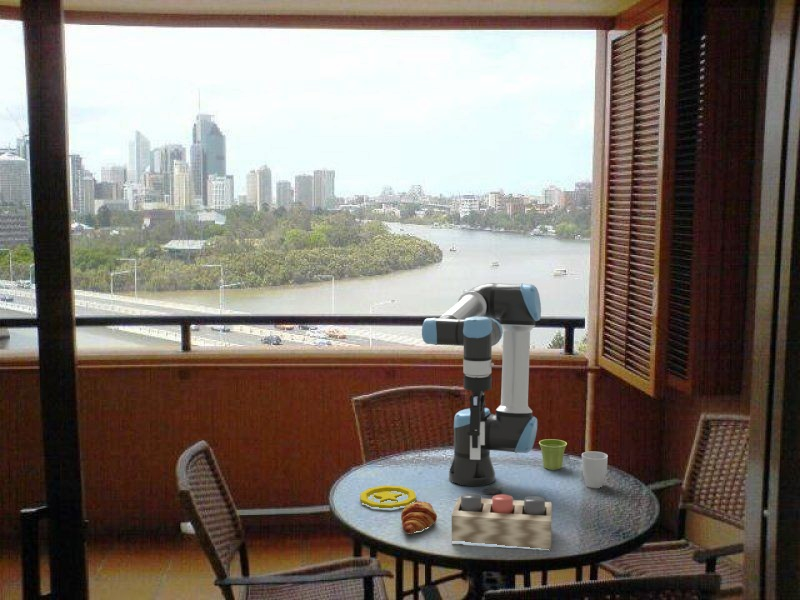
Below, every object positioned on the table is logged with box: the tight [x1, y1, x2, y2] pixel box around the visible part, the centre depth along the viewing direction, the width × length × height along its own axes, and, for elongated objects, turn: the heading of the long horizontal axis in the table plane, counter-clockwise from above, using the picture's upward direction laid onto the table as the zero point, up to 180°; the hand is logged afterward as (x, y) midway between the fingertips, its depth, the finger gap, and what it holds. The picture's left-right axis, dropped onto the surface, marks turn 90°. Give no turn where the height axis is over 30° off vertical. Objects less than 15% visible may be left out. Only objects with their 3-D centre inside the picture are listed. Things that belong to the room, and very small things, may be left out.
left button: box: [460, 492, 482, 512], centre depth 223 cm, size 6×6×5 cm
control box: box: [451, 496, 553, 551], centre depth 222 cm, size 26×14×8 cm, turn 79°
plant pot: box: [538, 438, 568, 471], centre depth 281 cm, size 9×9×9 cm
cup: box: [581, 451, 609, 489], centre depth 262 cm, size 8×8×10 cm
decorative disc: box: [360, 485, 417, 508], centre depth 252 cm, size 17×18×2 cm
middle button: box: [491, 494, 514, 514], centre depth 222 cm, size 6×6×5 cm
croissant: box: [400, 500, 438, 535], centre depth 232 cm, size 21×10×8 cm, turn 164°
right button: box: [523, 495, 546, 516], centre depth 220 cm, size 6×6×5 cm
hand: (477, 451), depth 223 cm, fingers open, 13 cm apart
